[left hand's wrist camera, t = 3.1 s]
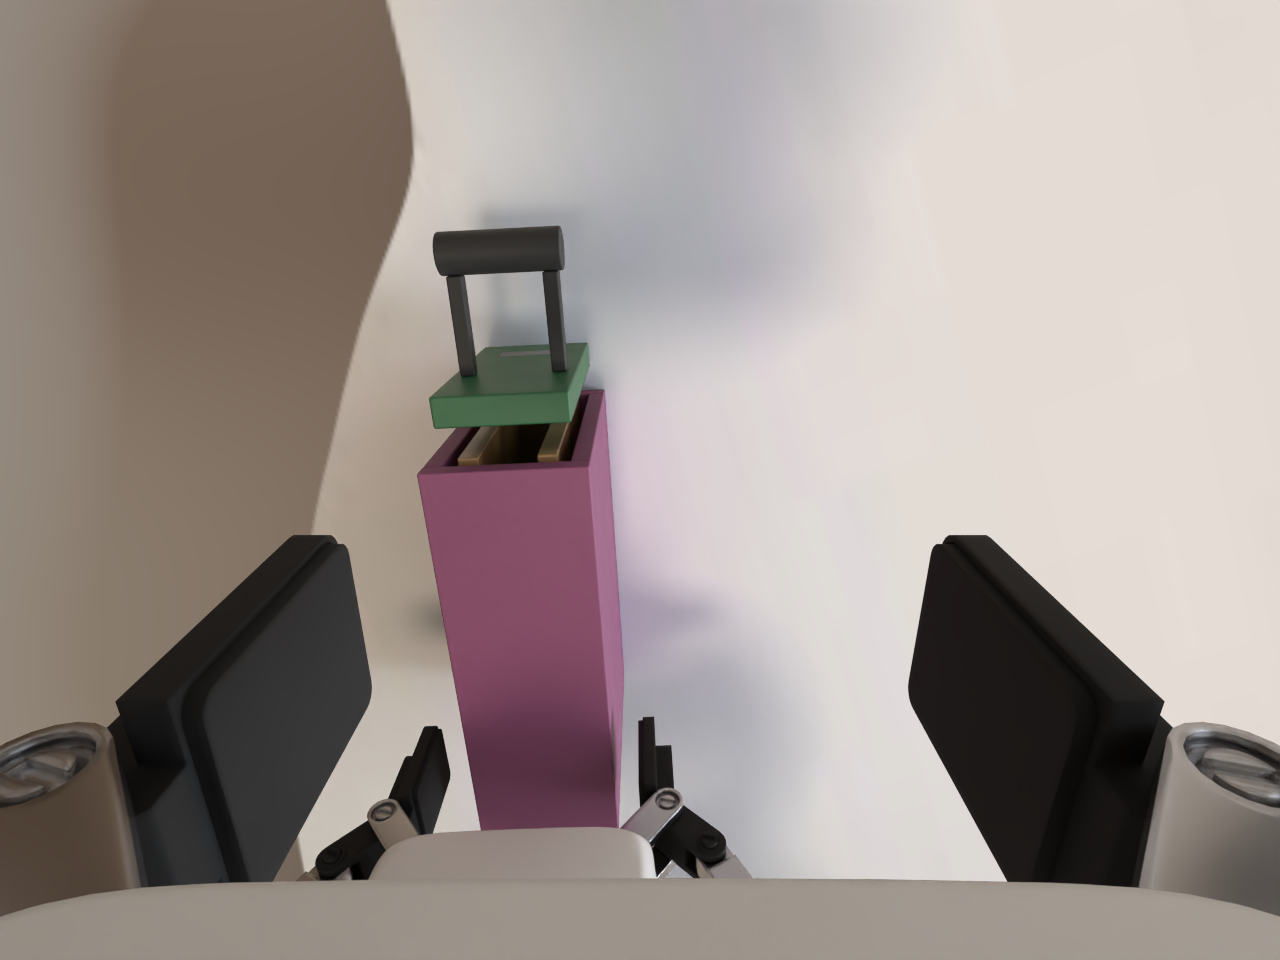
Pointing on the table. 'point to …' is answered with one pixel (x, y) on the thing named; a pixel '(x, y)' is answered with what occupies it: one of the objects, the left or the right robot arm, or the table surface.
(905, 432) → the table surface
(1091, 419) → the table surface
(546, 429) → the drawer
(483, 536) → the tall purple box
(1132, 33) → the table surface
